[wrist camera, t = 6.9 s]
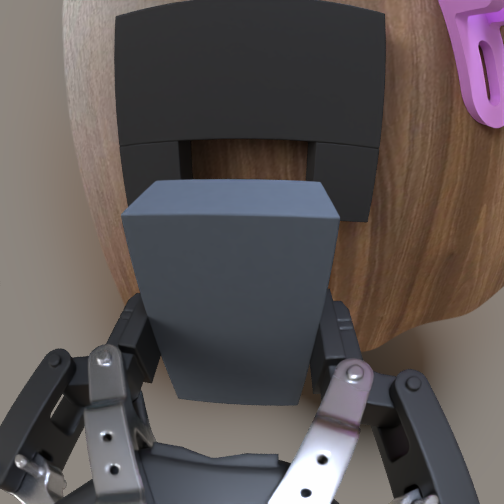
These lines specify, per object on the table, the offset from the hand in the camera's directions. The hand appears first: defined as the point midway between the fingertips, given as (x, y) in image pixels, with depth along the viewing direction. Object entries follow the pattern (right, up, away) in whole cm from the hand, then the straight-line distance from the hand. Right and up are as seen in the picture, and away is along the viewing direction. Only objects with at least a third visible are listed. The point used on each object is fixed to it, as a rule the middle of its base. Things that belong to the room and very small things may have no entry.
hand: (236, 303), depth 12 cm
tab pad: (0, 0, +1) cm, 1 cm away
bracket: (+18, +18, 0) cm, 26 cm away
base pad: (0, +12, +5) cm, 13 cm away
